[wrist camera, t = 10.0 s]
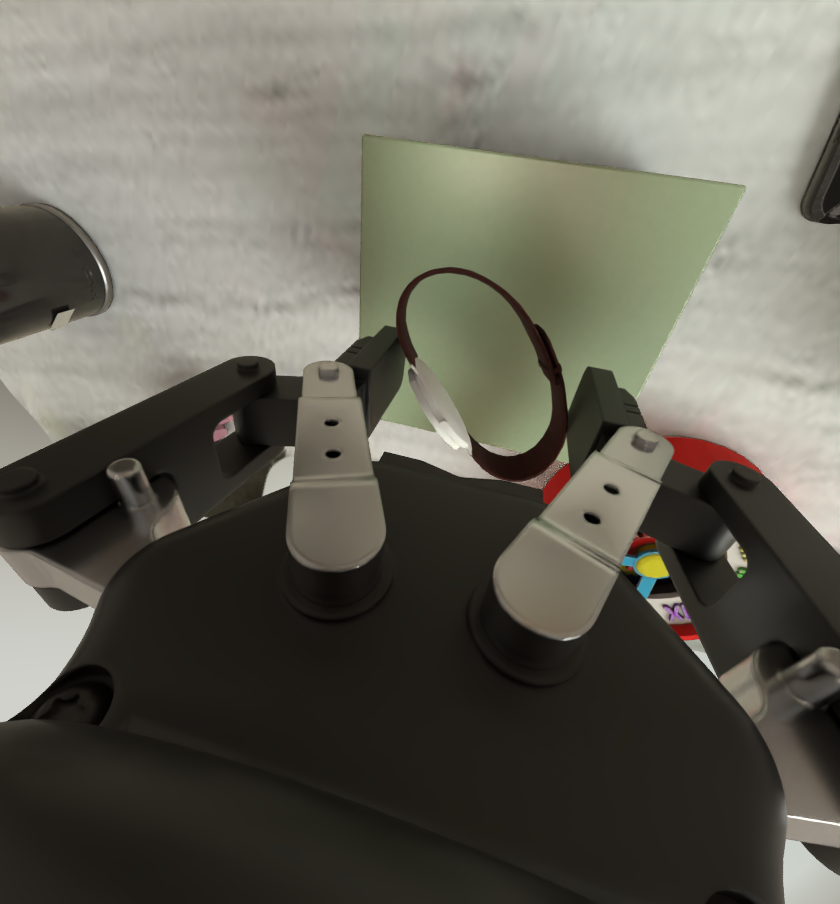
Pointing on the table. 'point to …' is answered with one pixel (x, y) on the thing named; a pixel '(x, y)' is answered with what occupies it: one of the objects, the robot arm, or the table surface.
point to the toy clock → (643, 555)
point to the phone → (825, 185)
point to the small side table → (527, 273)
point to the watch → (448, 417)
